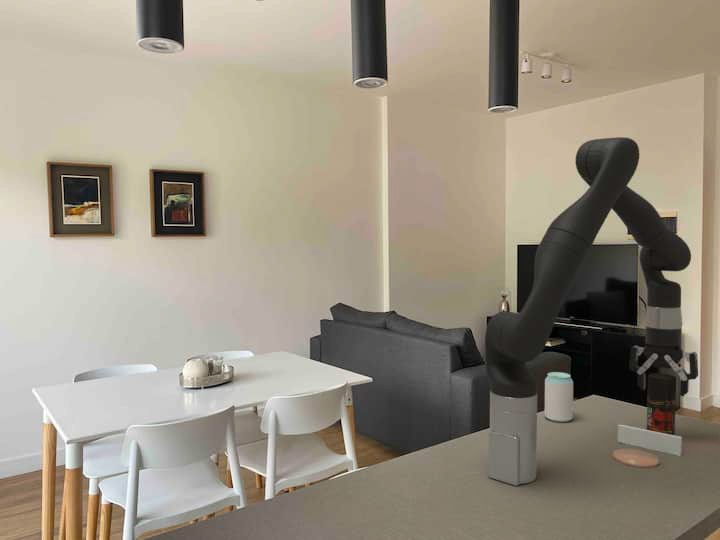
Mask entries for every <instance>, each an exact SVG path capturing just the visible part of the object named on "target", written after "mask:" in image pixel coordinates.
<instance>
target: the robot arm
mask: <svg viewBox="0 0 720 540" xmlns="http://www.w3.org/2000/svg"><path fill="white" fill-rule="evenodd" d="M639 161H640V147H639V145H638V144H637V142H636V140H634V139H632V138H630V137H624V136H623V137H618V136H617V137H607V138H605V137H604V138H596V139H590V140H587V141H585V142H583V143H582V144H581V145H580V146H579V147H578V149H577V151H576V154H575V168H576V170H577V171H576V172H577V173H578V175H579V176H580V177H581V179H582V180H583V181H584V182H585V183H586V184H587V185H588V186H589V188H588V189H587V190H586V191H585V193H583V194H582V195H581V196H580V197H579V198H578V199H577V200H576V201H575V202H573V203H572V204H571V205H569V206H568V207H567V208H566V209H564V210H563V211H562V212H561V213H560V214H559V215H557V217H556V218H555V219H554V220H552V222H551V223H550V225H549V226H548V227H547V229H546V231H545V234H544V235H543V237H542V238H541V241H540V243H539V244H538V247H537V249H536V252H535V257H534V269H533V270H534V272H533V273H534V277H533V286H532V289H531V291H530V294H529V296H528V298H527V300H526V302H524V306H523V307H522V308H521V310H520V311H519V313H518V312H513V311H505V310H504V311H500V312H497V313H495V314H494V315H493V316H491V318H490V319H489V321H488V323H487V324H486V325H487V326H486V329H485V336H484V350H485V351H484V353H485V354H484V356H485V357H484V358H485V370H486V371H485V372H486V376H487V379H488V382H489V433H488V477H489V478H490V479H493V480H497V481H499V482H504V483H506V484H510V485H513V486H519V485H521V484H528V483H531V482H534V481H535V480H536V479H537V449H538V448H537V445H538V444H537V443H538V442H537V440H538V439H537V437H538V436H537V435H538V434H537V433H538V431H537V427H538V381H537V379H536V377H535V376H534V374H532V373H531V371H530V370H529V368H528V366H527V363H529V362H532V361H534V360H535V359H537V358H538V357H539V356H540V355H541V354H542V352H543V351H544V349H545V347H546V345H547V342H548V341H549V338H550V335H551V333H552V330H553V329H554V328H553V327H554V325H555V323H556V320H557V317H558V315H559V313H560V310H561V307H562V305H563V303H564V301H565V300H566V299H565V298H566V296H567V295H568V293H569V290H570V288H571V286H572V284H573V283H574V281H575V278H576V276H577V274H578V273H579V271H580V269H581V267H582V266H583V264H584V262H585V260H586V259H587V256H588V255H589V252H590V250H591V248H592V246H593V244H594V242H595V239H596V237H597V236H598V233H599V231H600V230H601V228H602V226H603V224H604V223H605V221H606V219H607V217H608V215H609V214H610V212H611V210H612V211H613V212H615V215H617V217H618V218H619V219H620V220H621V221H622V223H623V224H624V226H625V227H626V229H627V230H628V232H629V233H630V235H631V237H632V238H633V239H634V241H635V243H637V244H638V245H639V246H640V247H641V248H640V252H639V263H640V266H641V270H642V273H643V277H644V281H645V285H646V289H647V297H646V299H647V301H646V302H647V303H646V304H647V306H646V311H645V312H646V313H645V346H644V347H641V346H638V345H637V344H635V345H634V346H632V347H630V355H629V356H630V357H629V365H628V366H629V367H628V368H629V371H631V372H635V373H636V375H637V386H638V387H639V388H640V390H641V391H645V389H646V387H647V386H646V385H647V384H646V383H647V381H646V379H647V376H646V375H647V374H646V373H645V372H646V371H647V370H648V369H649V368H650V367H651V366H653V367H655V368H663V369H666V370H667V369H668V370H669V369H672V370H673V371H674V372H675V373H676V374H677V376H679V378H680V379H681V380H680V381H679V382H680V383H679V396H680V397H685V396H686V395H687V394H688V392H689V386H690V385H689V381H690V380H696V379H697V378H698V377H699V361H698V353H697V351H692V352H685V351H683V348H682V340H683V339H682V338H683V336H682V335H683V333H682V332H683V331H682V330H683V329H682V328H683V315H682V308H681V307H682V287H681V284H679V283H678V282H676V281H672V280H669V279H667V278H666V277H665V275H664V274H663V272H681V271H684V270H686V269H687V268H688V267H689V266H690V263H691V261H692V260H691V259H692V253H691V249H690V247H689V246H688V244H687V242H685V240H683V238H682V237H681V236H679V235H678V234H677V233H676V232H674V231H673V230H672V229H671V228H669V227H668V226H666V224H665V222H664V220H663V219H662V217H661V216H660V214H659V212H658V210H657V209H656V208H655V207H654V206H653V204H652V203H651V202H649V201H648V199H646V198H644V197H643V196H642V195H640V194H639V193H637V192H636V191H635V190H633V189H632V188H630V187H629V186H628V184H629V183H630V181H631V180H632V178H633V177H634V175H635V173H636V170H637V167H638V165H639ZM662 271H663V272H662ZM642 353H643V354H644V356H645V358H646V359H647V360H646V361H645V362H644V363H643V364H642V365H641V366H639V364H638V363H639V356H641V355H642ZM683 358H685V361H686V362H687V363H689V373H688V372H687V370H686V369H685V368H684V366H683V364H682V363H681V362H680V361H681V360H682V359H683Z"/></svg>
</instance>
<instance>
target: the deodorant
mask: <svg viewBox="0 0 720 540" xmlns="http://www.w3.org/2000/svg"><path fill="white" fill-rule="evenodd" d="M676 397H677V377H676V376H675V375H672V374H668V373H661V372H660V373H659V372H656V373H655V372H653V373H649V374H648V375H647V398H646V399H647V400H646V401H647V404H646V405H647V406H646V409H647V411H646V430H650V431H655V432H660V433H665V434H670V435H674V436H676V434H675V432H676V400H677V399H676Z"/></svg>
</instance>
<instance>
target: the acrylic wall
mask: <svg viewBox="0 0 720 540" xmlns="http://www.w3.org/2000/svg"><path fill="white" fill-rule="evenodd" d="M682 439H683V437H682V436H678V435H675V436H674V435H670V434H665V433H660V432H655V431H650V430H647V429H644V428H639V427H634V426H631V425H630V426H629V425H626V424H625V425H624V424H617V443H620V442H621V444H624V443H625V444H626V445H629V444H630V446H633V445H634V446H633V447H638V446H639V447H638V448H642V447H643V449H647V450H653V451H657V452H661V453H664V454H665V453H666V454H669V455H675V456H678V457H681V456H682V447H683V446H682V444H683V443H682V442H683V441H682Z"/></svg>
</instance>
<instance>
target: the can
mask: <svg viewBox="0 0 720 540" xmlns="http://www.w3.org/2000/svg"><path fill="white" fill-rule="evenodd" d="M573 406H574V381H573V378H572V377H571V374H569V373H568V372H567V373H566V372H559V371H552V372H548V373H547V376H546V378H545V379H544V417H545V418H547V420H548V421H552V422H556V423H567V422H569V421H571V420H573V419H574V418H573V417H574V416H573V413H574V410H573V409H574V407H573Z"/></svg>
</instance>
